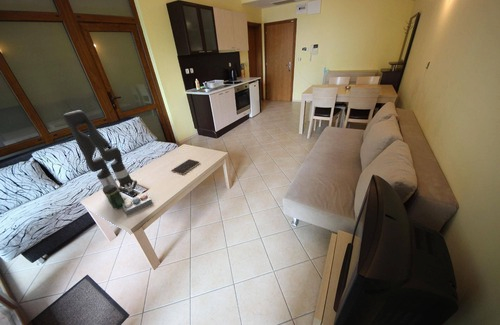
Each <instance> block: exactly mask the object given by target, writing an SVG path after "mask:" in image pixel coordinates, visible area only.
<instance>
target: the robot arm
mask: <svg viewBox="0 0 500 325" xmlns="http://www.w3.org/2000/svg"><path fill="white" fill-rule="evenodd" d="M62 117H63V121H64V122H65V124H66V125H67V127H68V129H69V130H70V132H71V133H72V136H73V137H74V139H75V142H76V144H77V146H78V147H79V150H80V152H81V154H82V155H83V158H84V159H85V161H86V164H87V167H88V169H89V170H90V171H91V172H94V173H97V175H96V177H97V179H98V180H99V182H100V183H101V186H102V187H105V186H107V185H114V186H116V187H117V189H118V191H119V193H120V191H121V192H124V193H129V195H131V196H134V194H135V191H134V190H136V187H137V184H138V181H137V179H135V180H134V179H132V177H131V175H130V173H129V171H128V170H127V168H126V166H125V165H124V163H123V158H122V157H123V156H122V152H121V150H120V149H119V148H118V147H111V148H109V147H110V143H109V142H108V141H107V140H106V138H104V136H103V135H101V133H100V132H99V131H98V128H97V127H96V126H95V124H93V122H92V121H91V119H90V118H89V116H88V115H87V114H86V113H85V112H84V111H83V110H80V109H78V110H73V111H70V112H66V113H64V114H63V116H62ZM84 125H86V126H87V129H88V134H86V133H84V132H82V131H80V130H79V129H78V128H79V127H81V126H84ZM107 148H109V149H107ZM96 149H97V150H98V153H100V154H99V155H100V156H101V157H100V156H99V157H96V158H94V159H93V157H94V154H95V152H96ZM106 149H107V150H106ZM113 160H114V161H113ZM111 161H113V162H112V163H110V167H111V169H112V171H113V173H114V175H115V178H116V179H117V181H118V183H119V185H118V183H117V181H116V179H115V178H114V176H113V175H112V173H111V171H110V169H109V167H108V165H107V162H108V163H109V162H111ZM98 171H99V172H98Z"/></svg>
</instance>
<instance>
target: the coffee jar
mask: <svg viewBox="0 0 500 325" xmlns="http://www.w3.org/2000/svg"><path fill="white" fill-rule="evenodd" d="M102 187H103V186H102ZM102 192H103V194H104V196H105V197H106V198H107V200H108V202H109V203H110V205H111V207H112V208H113V209H115V210H119V209H122V208H124V207H123V205H122V204H123V203H125V202H126V201H125V200H124V198H123V196H122V194H121V193H120V192H119V191H118V189H117V187H116V186H114V185H107V186H105V187H103V188H102Z"/></svg>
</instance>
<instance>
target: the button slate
mask: <svg viewBox="0 0 500 325" xmlns="http://www.w3.org/2000/svg"><path fill="white" fill-rule="evenodd" d="M132 201H133V202H134V204H136V203H138V202H140V201H139V199H138V196H136V197H133V198H132Z"/></svg>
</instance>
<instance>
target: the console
mask: <svg viewBox="0 0 500 325" xmlns="http://www.w3.org/2000/svg"><path fill="white" fill-rule="evenodd" d="M143 195H146V196H147V199H145V200H143V201H142V199H141V197H142V196H143ZM137 197H138V199H139V201H140V202H138V203H136V204H134V202H133V201H132V199H133V198H132V199H130V200H126V201H125V203H123V204H122V205H123V207H122V208H123V209H124V210H123V211H124V212H125V214H126V216H127V217H128V216H129V215H131V214H134V213H135V212H138V211H140V210H143V209H144V208H146V207H148V206H150V205H152V204H153V201H152V199H151V197H150V196H149V194H148V192H144V193H143V194H140V195H138V196H137ZM128 202H131V204H132V206H130V207H128V208H126V206H125V204H126V203H128Z"/></svg>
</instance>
